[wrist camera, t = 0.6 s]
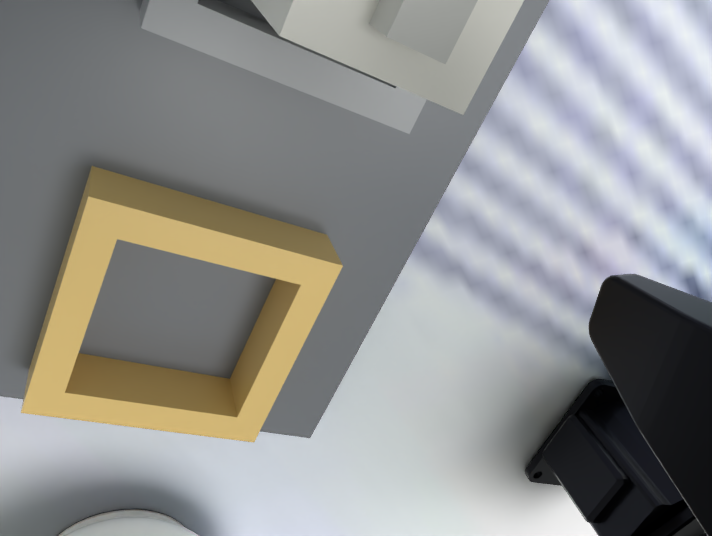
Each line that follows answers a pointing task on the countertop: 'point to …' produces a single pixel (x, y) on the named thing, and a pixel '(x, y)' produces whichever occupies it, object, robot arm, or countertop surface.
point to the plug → (402, 39)
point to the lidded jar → (128, 525)
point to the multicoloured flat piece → (203, 210)
